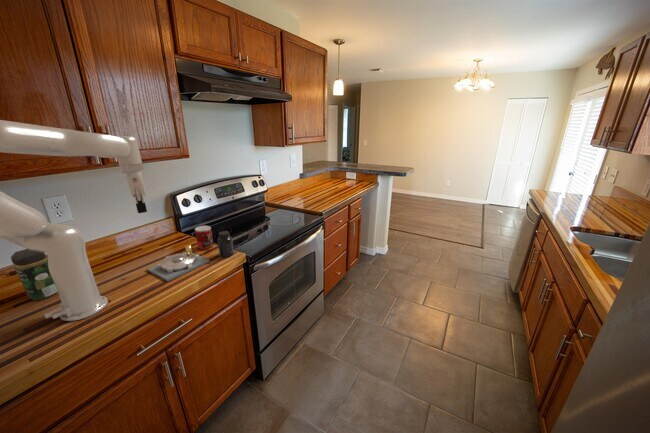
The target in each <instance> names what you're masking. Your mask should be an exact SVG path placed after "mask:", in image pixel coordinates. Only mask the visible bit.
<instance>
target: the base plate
mask: <svg viewBox="0 0 650 433" xmlns="http://www.w3.org/2000/svg"><path fill="white" fill-rule="evenodd" d="M192 254H193V255H197V257H198V260H196V261H195V263H194V264H193V265H192V266H193V267H191V268H189V269H188V268H186V269H183V270H180V271H174V272H173V273H168V272H167V271H164V270H162V268H161V269H160V270H159V268H158V264H159V263H160V264H161V262H159V263H157V264H155V265H152V266H149V267H147V268H146V271H147V272H149V273H151V274H153V275H155V276H157V277H158V278H160V279H162V280H164V281H166V282H169V281H172V280H174V279H176V278H178V277H180V276H182V275H185V274H187V273H189V272H192V271H193V270H195V269H197V268H199V267H201V266H203V265H205V263H206V264H208V263H210V262H211V260H210V259H209V258H207V257H204V256H201V255H199V254H196V253H193V252H192ZM209 261H210V262H209ZM207 262H208V263H207Z"/></svg>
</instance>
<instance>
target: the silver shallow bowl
mask: <svg viewBox="0 0 650 433" xmlns="http://www.w3.org/2000/svg"><path fill="white" fill-rule="evenodd" d="M184 248H185V252H184V251H183V252H182V253H176V254H172V255H167V256H165V257H164V259H162V260H161V261H160V262H159V263H157V264H158V268H159V270H160V269H161V268H162V270H164V271H167V272H168V273H173V272H174V271H180V270H183V269H186V268H188V269H189V268H191V267H193V266H192V265H193V264H194V263H195V261H196V260H198V257H197V255H198V254H196V255H193V254H192V253H193V250H192V246H191V244H190V245H189V244H187V245H184ZM160 263H161V264H160Z"/></svg>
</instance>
